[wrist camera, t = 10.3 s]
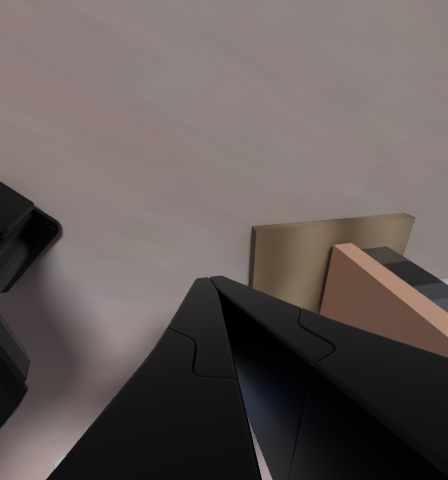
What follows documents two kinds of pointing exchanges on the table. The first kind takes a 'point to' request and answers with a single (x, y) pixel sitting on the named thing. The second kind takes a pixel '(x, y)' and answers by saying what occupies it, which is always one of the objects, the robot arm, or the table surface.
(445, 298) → the charcoal metal brick
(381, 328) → the salmon pink upright block
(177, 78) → the table surface
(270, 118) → the table surface
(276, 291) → the tan board
